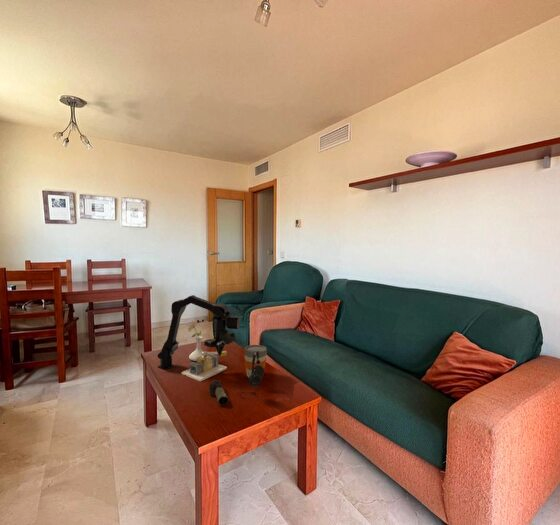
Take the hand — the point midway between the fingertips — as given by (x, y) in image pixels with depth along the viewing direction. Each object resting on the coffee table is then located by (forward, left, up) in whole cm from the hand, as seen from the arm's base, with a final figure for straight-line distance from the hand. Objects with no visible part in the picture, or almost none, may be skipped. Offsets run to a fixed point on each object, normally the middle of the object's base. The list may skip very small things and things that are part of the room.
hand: (219, 355), depth 163 cm
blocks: (-8, -4, -10) cm, 13 cm away
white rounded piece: (-24, +5, -10) cm, 27 cm away
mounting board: (-8, -4, -10) cm, 13 cm away
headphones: (+28, -7, -10) cm, 30 cm away
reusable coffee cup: (+18, +9, -10) cm, 23 cm away
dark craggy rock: (+17, -19, -10) cm, 28 cm away
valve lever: (-4, 0, -2) cm, 4 cm away
